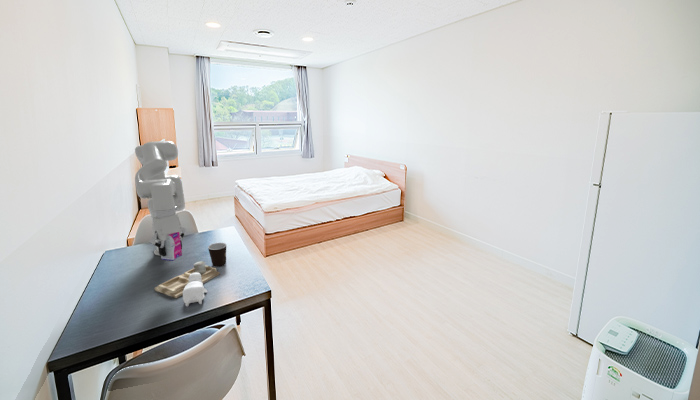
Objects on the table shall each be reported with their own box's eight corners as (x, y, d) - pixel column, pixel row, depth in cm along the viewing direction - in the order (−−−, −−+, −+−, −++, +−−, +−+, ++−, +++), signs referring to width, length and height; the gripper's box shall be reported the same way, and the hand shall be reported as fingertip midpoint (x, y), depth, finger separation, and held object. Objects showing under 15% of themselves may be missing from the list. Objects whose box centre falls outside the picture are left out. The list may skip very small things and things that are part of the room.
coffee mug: (222, 268, 158) (219, 250, 155) (206, 267, 159) (204, 248, 157) (234, 258, 169) (233, 241, 166) (220, 257, 170) (218, 239, 168)
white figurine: (206, 308, 131) (207, 279, 142) (203, 295, 126) (205, 267, 137) (183, 312, 128) (186, 283, 140) (179, 299, 124) (183, 270, 135)
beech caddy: (154, 290, 138) (152, 277, 137) (199, 268, 158) (198, 256, 157) (176, 298, 132) (174, 285, 131) (219, 274, 152) (218, 262, 151)
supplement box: (173, 261, 133) (169, 235, 130) (161, 260, 134) (157, 234, 131) (183, 255, 138) (179, 230, 135) (171, 254, 140) (167, 229, 137)
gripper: (178, 206, 140) (183, 243, 145) (138, 217, 125) (145, 258, 130) (189, 208, 137) (194, 246, 142) (150, 219, 122) (157, 262, 126)
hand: (171, 251), depth 136 cm, fingers closed on supplement box, 6 cm apart
